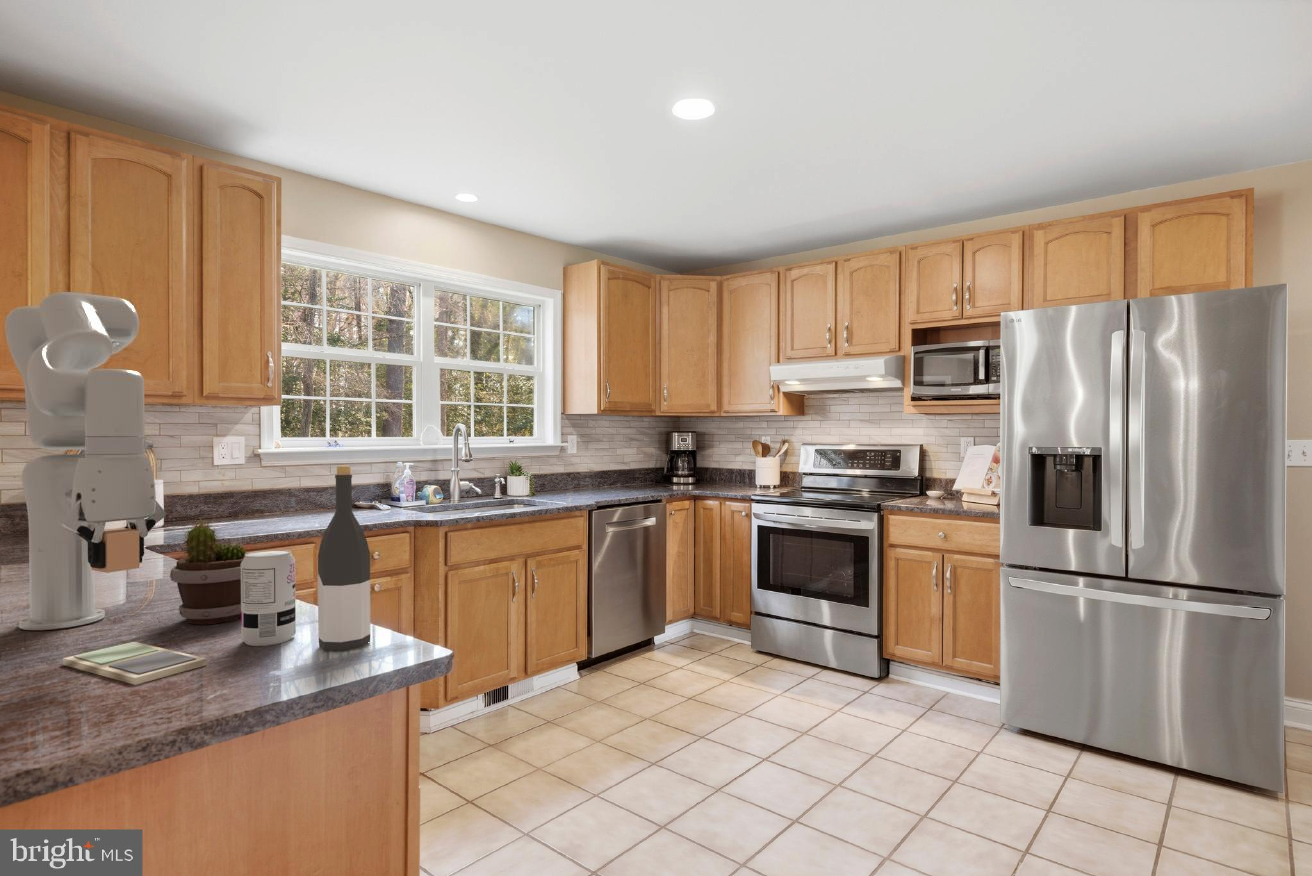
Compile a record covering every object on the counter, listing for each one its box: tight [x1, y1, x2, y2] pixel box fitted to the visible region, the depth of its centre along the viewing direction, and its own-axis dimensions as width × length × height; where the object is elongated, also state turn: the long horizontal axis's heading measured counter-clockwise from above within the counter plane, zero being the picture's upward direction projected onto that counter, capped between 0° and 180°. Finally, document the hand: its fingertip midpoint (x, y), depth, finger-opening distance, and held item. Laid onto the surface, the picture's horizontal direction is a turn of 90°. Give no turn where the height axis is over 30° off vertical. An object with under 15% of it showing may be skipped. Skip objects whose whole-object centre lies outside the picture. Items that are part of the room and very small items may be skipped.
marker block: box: [92, 527, 140, 574], centre depth 115 cm, size 4×4×6 cm
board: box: [62, 641, 208, 686], centre depth 112 cm, size 20×10×1 cm, turn 62°
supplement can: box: [240, 549, 297, 647], centre depth 125 cm, size 8×8×15 cm
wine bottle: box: [317, 465, 371, 652], centre depth 122 cm, size 8×8×30 cm
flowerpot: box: [169, 517, 248, 625], centre depth 141 cm, size 14×15×20 cm
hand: (116, 563), depth 115 cm, fingers closed on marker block, 4 cm apart
